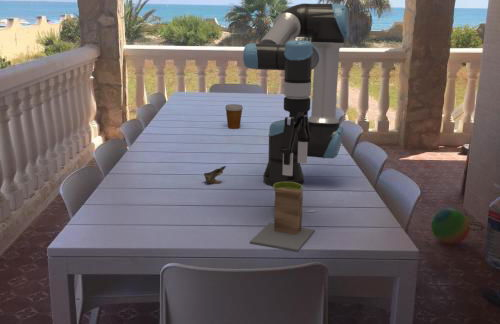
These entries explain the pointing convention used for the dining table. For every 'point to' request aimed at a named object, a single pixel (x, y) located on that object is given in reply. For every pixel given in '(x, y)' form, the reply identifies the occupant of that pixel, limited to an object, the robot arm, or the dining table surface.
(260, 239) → the rubber mat
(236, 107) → the disposable coffee cup
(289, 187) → the plant pot
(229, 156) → the dining table surface
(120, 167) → the dining table surface
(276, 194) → the walnut block
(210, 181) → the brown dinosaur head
